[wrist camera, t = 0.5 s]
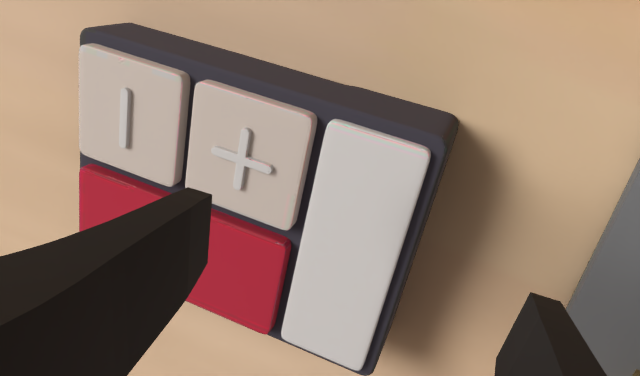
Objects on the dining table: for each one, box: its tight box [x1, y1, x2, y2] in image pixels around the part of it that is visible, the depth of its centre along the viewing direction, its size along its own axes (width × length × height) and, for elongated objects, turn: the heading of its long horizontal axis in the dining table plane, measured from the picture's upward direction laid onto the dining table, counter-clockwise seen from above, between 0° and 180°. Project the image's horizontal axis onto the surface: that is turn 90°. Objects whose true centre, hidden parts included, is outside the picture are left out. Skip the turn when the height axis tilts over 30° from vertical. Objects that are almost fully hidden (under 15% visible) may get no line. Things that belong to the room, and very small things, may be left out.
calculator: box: [79, 23, 458, 376], centre depth 22 cm, size 11×4×15 cm
